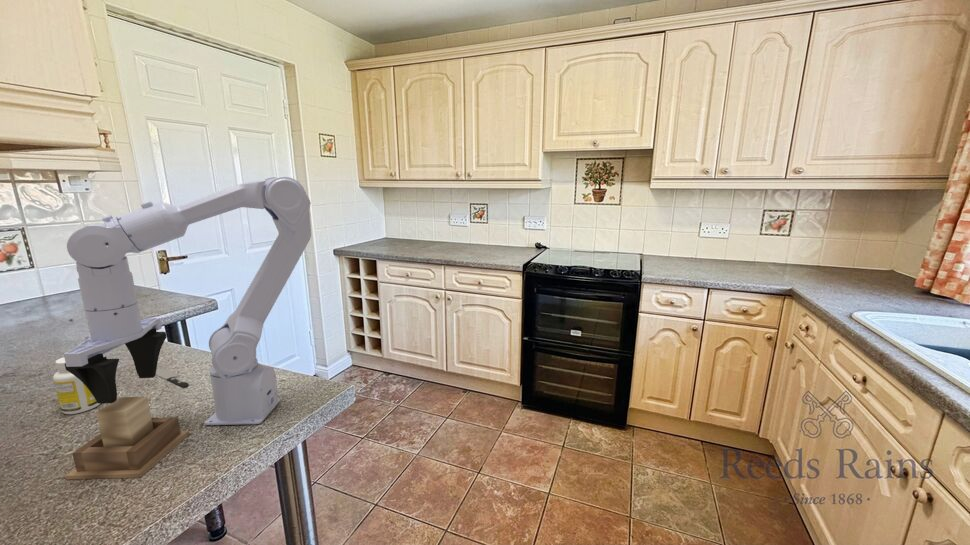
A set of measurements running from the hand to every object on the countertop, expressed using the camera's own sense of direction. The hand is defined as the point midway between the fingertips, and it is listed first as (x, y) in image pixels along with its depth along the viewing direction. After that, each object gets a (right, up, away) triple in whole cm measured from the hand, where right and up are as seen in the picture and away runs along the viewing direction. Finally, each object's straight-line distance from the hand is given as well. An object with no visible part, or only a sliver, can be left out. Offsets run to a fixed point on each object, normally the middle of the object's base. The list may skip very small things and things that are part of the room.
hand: (128, 388), depth 60 cm
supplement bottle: (-19, -7, +12) cm, 24 cm away
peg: (+2, -9, -1) cm, 9 cm away
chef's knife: (-14, -5, +24) cm, 28 cm away
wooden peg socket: (+2, -10, -1) cm, 10 cm away
